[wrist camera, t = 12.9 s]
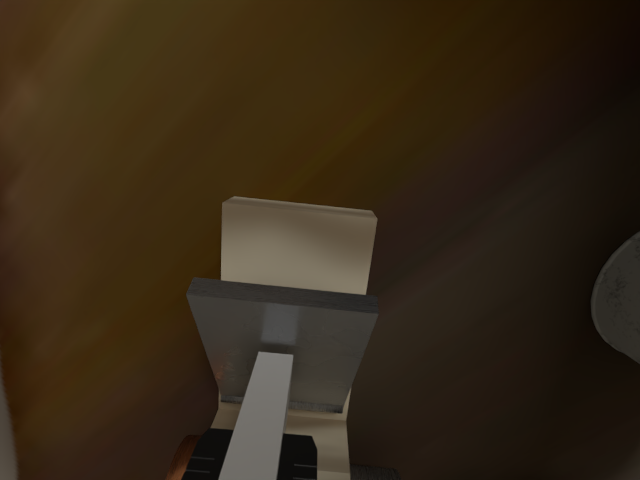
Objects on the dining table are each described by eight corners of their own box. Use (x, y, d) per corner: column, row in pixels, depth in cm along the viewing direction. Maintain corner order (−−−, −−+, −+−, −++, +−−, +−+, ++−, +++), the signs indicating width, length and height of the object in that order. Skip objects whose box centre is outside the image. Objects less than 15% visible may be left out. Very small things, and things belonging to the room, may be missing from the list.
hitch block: (234, 196, 19) (182, 223, 12) (371, 210, 19) (397, 246, 12) (225, 490, 25) (189, 617, 18) (328, 500, 25) (329, 629, 18)
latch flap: (195, 273, 12) (184, 299, 11) (376, 291, 12) (378, 318, 12) (227, 384, 20) (222, 405, 19) (341, 395, 20) (341, 416, 19)
